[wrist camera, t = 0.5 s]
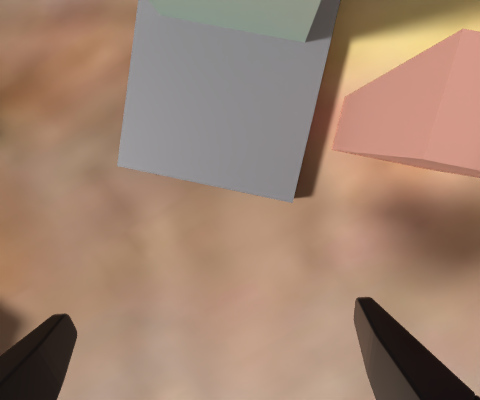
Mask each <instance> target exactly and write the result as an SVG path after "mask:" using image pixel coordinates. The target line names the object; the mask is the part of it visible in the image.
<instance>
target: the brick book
mask: <svg viewBox="0 0 480 400" xmlns="http://www.w3.org/2000/svg"><path fill="white" fill-rule="evenodd" d="M332 150H336V151H341V152H346V153H350V154H355V155H360V156H365V157H370V158H375V159H380V160H385V161H390V162H395V163H400V164H405V165H410V166H414V167H419V168H424V169H430V170H436V171H442V172H448V173H454V174H460V175H466V176H473V177H479V178H480V32H478V31H473V30H467V29H462V30H460V31H458V32H457V33H455V34H453V35H451V36H450V37H448V38H446V39H444V40H443V41H441V42H439V43H438V44H436V45H434V46H432V47H431V48H429V49H427V50H425V51H424V52H422V53H420V54H418V55H417V56H415V57H413V58H412V59H410V60H408V61H406V62H405V63H403V64H401V65H399V66H398V67H396V68H394V69H393V70H391V71H389V72H387V73H386V74H384V75H382V76H380V77H379V78H377V79H375V80H373V81H372V82H370V83H368V84H367V85H365V86H363V87H361V88H360V89H358V90H356V91H354V92H353V93H351V94H349V95H348V96H346V97H345V98H344V102H343V106H342V110H341V114H340V118H339V122H338V126H337V130H336V134H335V138H334V142H333V146H332Z"/></svg>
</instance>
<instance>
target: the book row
mask: <svg viewBox="0 0 480 400" xmlns="http://www.w3.org/2000/svg"><path fill="white" fill-rule="evenodd" d="M148 1H149V2H150V3H151V4H152V5H153V7H154V8H155V9H156V10H157V11H158V13H159V14H160V15H162V16H167V17H173V18H178V19H183V20H189V21H194V22H199V23H204V24H210V25H215V26H220V27H225V28H231V29H236V30H241V31H246V32H252V33H257V34H262V35H268V36H273V37H278V38H283V39H289V40H294V41H299V42H304V43H305V41H306V38H307V35H308V33H309V30H310V28H311V25H312V22H313V20H314V17H315V15H316V12H317V10H318V7H319V4H320V2H321V0H148Z"/></svg>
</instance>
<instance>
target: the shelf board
mask: <svg viewBox="0 0 480 400" xmlns="http://www.w3.org/2000/svg"><path fill="white" fill-rule="evenodd" d="M339 4H340V0H321V2H320V4H319V7H318V10H317V12H316V15H315V17H314V20H313V22H312V25H311V28H310V30H309V33H308V35H307V38H306V41H305V43H304V42H299V41H294V40H289V39H283V38H278V37H273V36H268V35H262V34H257V33H252V32H246V31H241V30H236V29H231V28H225V27H220V26H215V25H210V24H204V23H199V22H194V21H189V20H183V19H178V18H173V17H167V16H162V15H160V14H159V13H158V11H157V10H156V9H155V8H154V7H153V5H152V4H151V3H150V2H149V1H148V0H138V7H137V15H136V23H135V31H134V39H133V46H132V54H131V62H130V70H129V78H128V86H127V93H126V101H125V109H124V117H123V125H122V133H121V140H120V148H119V156H118V164H117V166H120V167H125V168H130V169H134V170H139V171H144V172H149V173H153V174H158V175H163V176H168V177H172V178H177V179H182V180H187V181H191V182H196V183H201V184H205V185H210V186H215V187H220V188H224V189H229V190H234V191H239V192H243V193H248V194H253V195H258V196H262V197H267V198H272V199H277V200H281V201H286V202H291V203H293V199H294V195H295V190H296V186H297V182H298V178H299V173H300V169H301V165H302V161H303V156H304V152H305V148H306V144H307V140H308V135H309V131H310V127H311V123H312V118H313V114H314V110H315V106H316V101H317V97H318V93H319V89H320V84H321V80H322V76H323V72H324V67H325V63H326V59H327V55H328V50H329V46H330V42H331V38H332V34H333V29H334V25H335V21H336V17H337V12H338V8H339Z"/></svg>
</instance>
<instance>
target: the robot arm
mask: <svg viewBox="0 0 480 400" xmlns="http://www.w3.org/2000/svg"><path fill="white" fill-rule="evenodd" d="M354 323H355V328H356V332H357V336H358V340H359V344H360V348H361V352H362V356H363V360H364V364H365V368H366V372H367V375H368V378H369V381H370V384H371V387H372V390H373V393H374V395H375V398H376V400H480V397H479V396H477V395H476V396H475V393H474V392H473V391H472V390H471V389H470V388H469V387H468V386H467V385H465V384H464V383H463V382H462V381H461V380H460V379H459V378H458V377H457V376H456V375H455V374H454V373H452V372H451V371H450V370H449V369H448V368H447V367H446V366H445V365H444V364H443V363H442V362H441V361H439V360H438V359H437V358H436V357H435V356H434V355H433V354H432V353H431V352H430V351H429V350H428V349H426V348H425V347H424V346H423V345H422V344H421V343H420V342H419V341H418V340H417V339H416V338H415V337H413V336H412V335H411V334H410V333H409V332H408V331H407V330H406V329H405V328H404V327H403V326H401V325H400V324H399V323H398V322H397V321H396V320H395V319H394V318H393V317H392V316H391V315H390V314H388V313H387V312H386V311H385V310H384V309H383V308H382V307H381V306H380V305H379V304H378V303H377V302H375V301H374V300H373V299H372V298H370V297H359V298H357V299H356V301H355V310H354ZM76 339H77V330H76V328H75V326H74V324H73V322H72V320H71V318H70V316H69V315H68V314H55V315H52V316H51V317H50V318H48V319H47V320H46V321H44V322H43V323H42V324H41V325H39V326H38V327H37V328H36V329H34V330H33V331H32V332H30V333H29V334H28V335H27V336H25V337H24V338H23V339H22V340H20V341H19V342H18V343H16V344H15V345H14V346H13V347H11V348H10V349H9V350H7V351H6V352H5V353H4V354H2V355H1V356H0V400H57V398H58V395H59V393H60V390H61V387H62V385H63V382H64V379H65V375H66V372H67V369H68V365H69V362H70V359H71V356H72V352H73V349H74V346H75V342H76Z"/></svg>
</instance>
